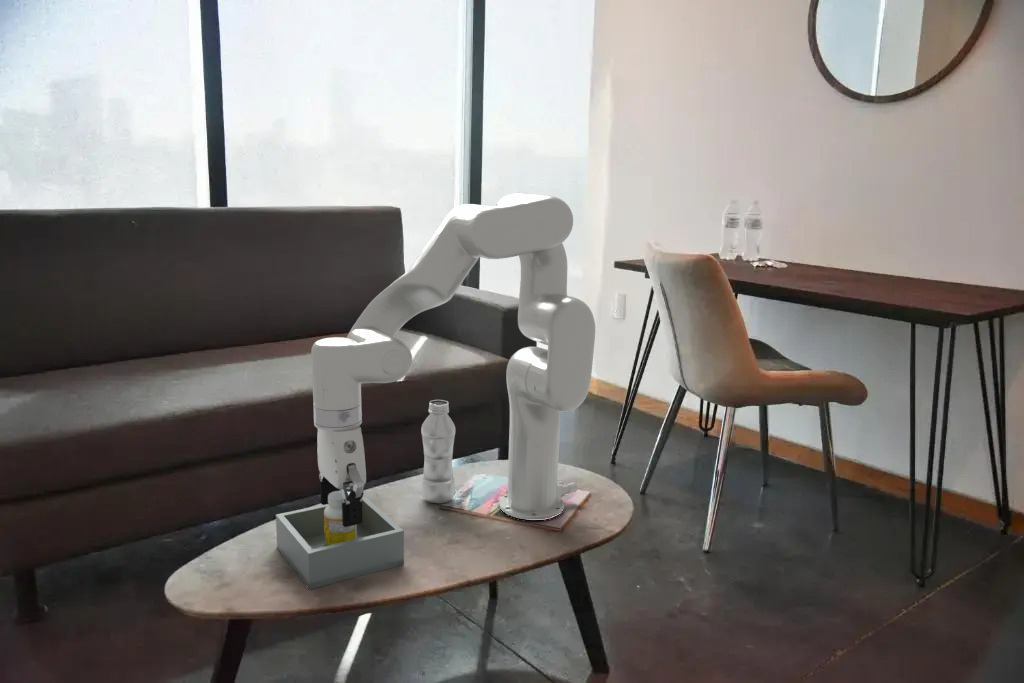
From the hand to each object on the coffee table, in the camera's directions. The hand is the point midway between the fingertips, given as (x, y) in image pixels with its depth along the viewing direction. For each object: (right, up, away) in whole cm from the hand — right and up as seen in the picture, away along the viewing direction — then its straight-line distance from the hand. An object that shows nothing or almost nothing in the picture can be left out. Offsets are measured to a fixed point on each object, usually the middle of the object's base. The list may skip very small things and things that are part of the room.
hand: (341, 513), depth 134 cm
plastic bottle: (+14, -3, +25) cm, 28 cm away
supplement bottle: (0, -7, +1) cm, 7 cm away
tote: (-1, -7, +1) cm, 8 cm away
